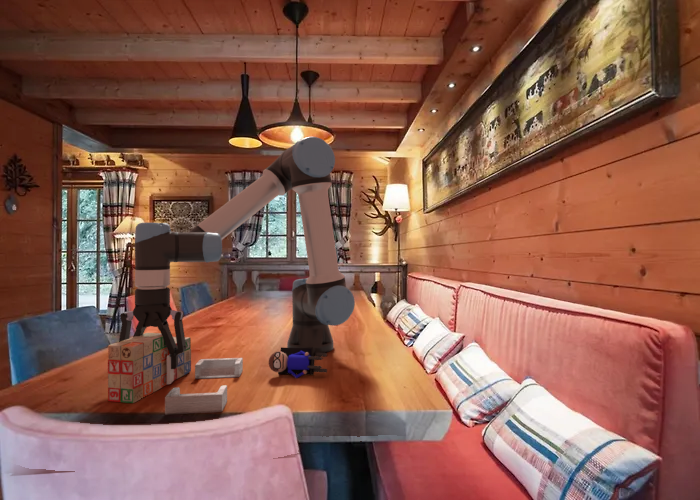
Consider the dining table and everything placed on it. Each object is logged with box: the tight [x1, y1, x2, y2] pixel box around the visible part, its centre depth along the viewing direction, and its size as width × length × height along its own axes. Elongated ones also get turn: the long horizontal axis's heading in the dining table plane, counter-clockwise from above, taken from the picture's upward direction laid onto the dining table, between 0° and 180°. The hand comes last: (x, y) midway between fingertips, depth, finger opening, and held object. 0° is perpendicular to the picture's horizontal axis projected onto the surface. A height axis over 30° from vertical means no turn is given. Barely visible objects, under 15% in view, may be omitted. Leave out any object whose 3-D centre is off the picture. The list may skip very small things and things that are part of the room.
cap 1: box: [164, 384, 228, 416], centre depth 79 cm, size 11×5×4 cm, turn 97°
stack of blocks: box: [107, 332, 192, 404], centre depth 92 cm, size 21×6×12 cm, turn 170°
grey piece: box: [194, 357, 244, 380], centre depth 100 cm, size 11×5×4 cm, turn 97°
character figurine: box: [268, 347, 328, 379], centre depth 99 cm, size 8×7×15 cm
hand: (152, 382), depth 92 cm, fingers closed on stack of blocks, 7 cm apart
